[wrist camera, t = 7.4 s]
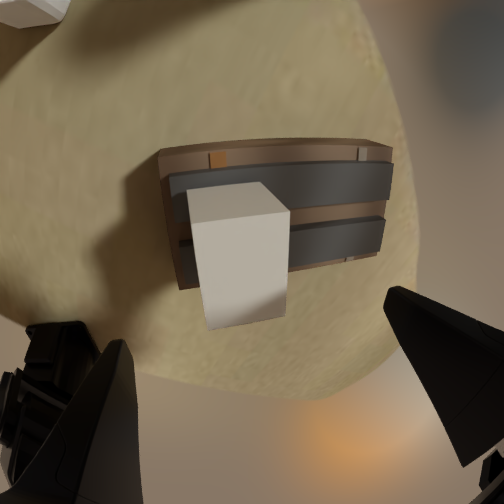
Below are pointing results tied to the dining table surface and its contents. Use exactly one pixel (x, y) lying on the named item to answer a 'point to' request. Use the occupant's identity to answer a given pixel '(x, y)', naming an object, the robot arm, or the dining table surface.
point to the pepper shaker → (32, 12)
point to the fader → (240, 252)
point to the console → (287, 194)
